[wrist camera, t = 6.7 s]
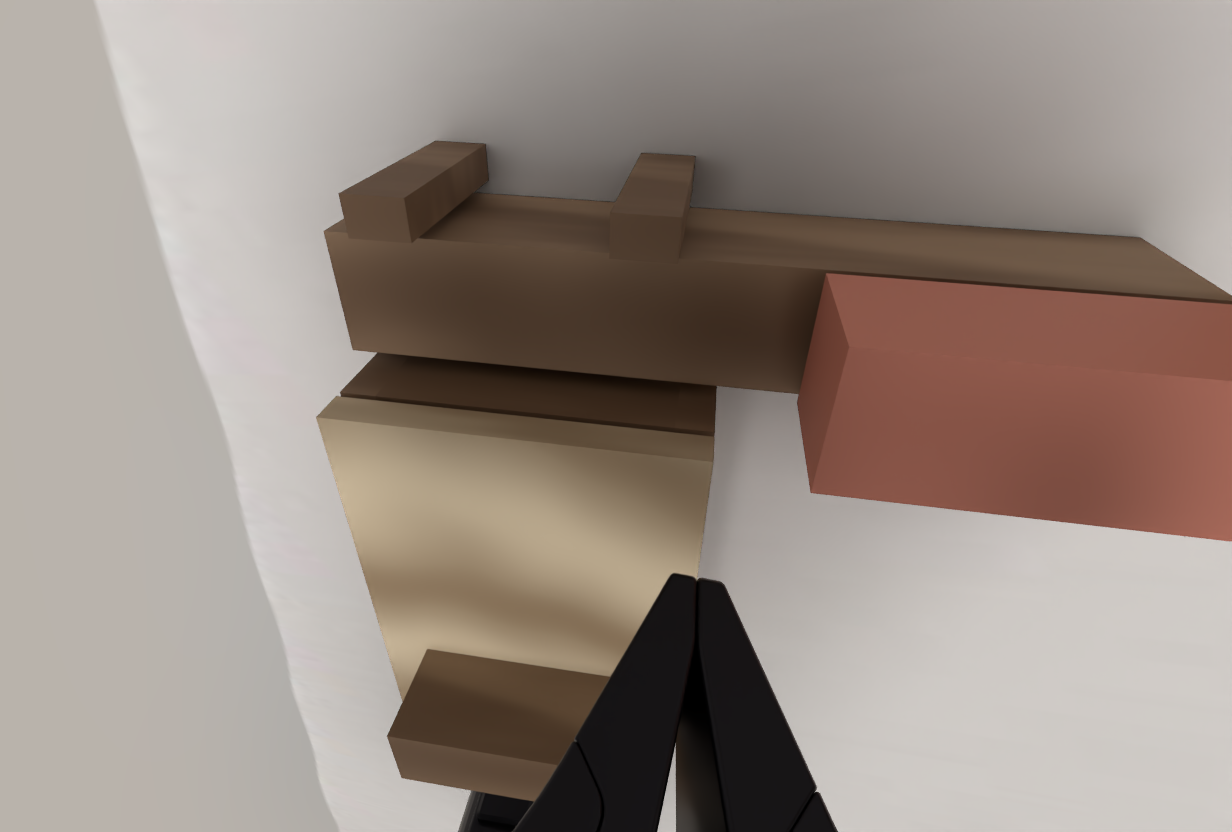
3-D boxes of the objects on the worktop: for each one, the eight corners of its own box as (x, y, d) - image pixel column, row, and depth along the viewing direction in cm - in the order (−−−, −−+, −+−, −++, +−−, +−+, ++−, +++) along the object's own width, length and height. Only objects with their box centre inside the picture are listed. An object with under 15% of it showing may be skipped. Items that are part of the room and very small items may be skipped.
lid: (672, 738, 24) (663, 859, 21) (419, 697, 25) (372, 805, 22) (714, 436, 16) (709, 556, 12) (336, 396, 17) (240, 496, 14)
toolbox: (933, 647, 27) (972, 778, 23) (463, 581, 29) (414, 689, 25) (1167, 183, 16) (1335, 262, 12) (386, 138, 18) (274, 189, 14)
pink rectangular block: (1178, 440, 15) (1281, 547, 12) (797, 402, 16) (810, 492, 13) (1267, 307, 13) (1414, 397, 10) (826, 273, 14) (848, 347, 11)
